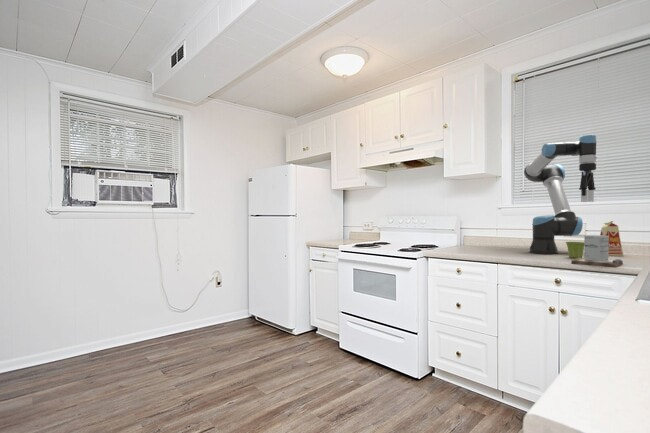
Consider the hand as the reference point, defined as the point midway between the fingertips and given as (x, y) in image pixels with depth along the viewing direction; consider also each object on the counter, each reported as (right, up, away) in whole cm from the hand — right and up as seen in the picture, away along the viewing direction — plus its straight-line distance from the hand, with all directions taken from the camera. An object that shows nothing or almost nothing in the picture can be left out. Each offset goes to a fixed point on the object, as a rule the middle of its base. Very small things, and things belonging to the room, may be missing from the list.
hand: (587, 201), depth 199 cm
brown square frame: (-9, -32, -19) cm, 38 cm away
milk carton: (+22, -31, +12) cm, 40 cm away
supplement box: (-10, -30, -19) cm, 37 cm away
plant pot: (-5, -32, +3) cm, 32 cm away
